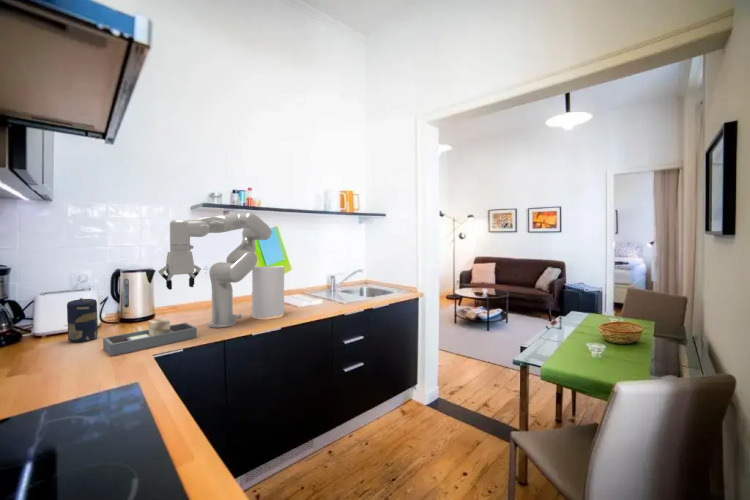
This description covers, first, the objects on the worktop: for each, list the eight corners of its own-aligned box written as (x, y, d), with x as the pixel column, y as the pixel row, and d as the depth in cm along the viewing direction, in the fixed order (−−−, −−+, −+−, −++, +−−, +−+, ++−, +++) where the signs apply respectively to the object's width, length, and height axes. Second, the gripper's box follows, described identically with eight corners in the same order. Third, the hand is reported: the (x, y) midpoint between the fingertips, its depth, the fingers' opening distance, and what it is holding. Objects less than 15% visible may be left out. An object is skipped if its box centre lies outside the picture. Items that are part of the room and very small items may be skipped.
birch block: (165, 331, 141) (164, 318, 141) (170, 334, 138) (169, 320, 137) (148, 334, 137) (148, 320, 137) (153, 337, 133) (153, 323, 133)
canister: (97, 334, 145) (96, 295, 144) (99, 340, 138) (98, 298, 137) (67, 339, 138) (66, 297, 137) (68, 345, 131) (66, 301, 131)
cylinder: (288, 316, 182) (288, 267, 180) (256, 321, 172) (256, 268, 170) (278, 310, 196) (278, 264, 194) (248, 314, 186) (248, 265, 185)
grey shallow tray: (186, 332, 151) (185, 322, 151) (196, 337, 143) (196, 327, 143) (103, 349, 128) (103, 337, 128) (110, 356, 120) (110, 344, 120)
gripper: (197, 247, 151) (198, 284, 152) (154, 248, 138) (155, 289, 139) (204, 248, 146) (204, 286, 147) (160, 249, 133) (161, 291, 134)
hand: (180, 287), depth 143 cm, fingers open, 8 cm apart
